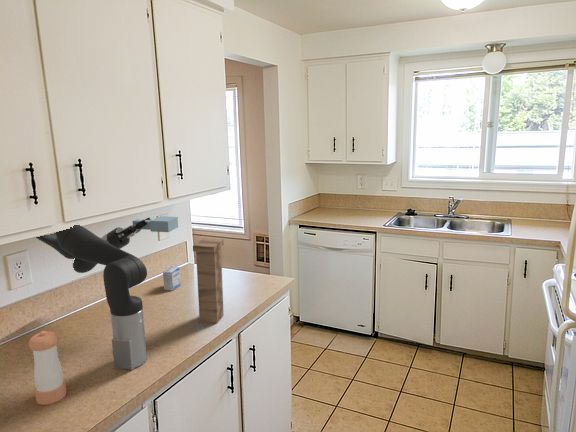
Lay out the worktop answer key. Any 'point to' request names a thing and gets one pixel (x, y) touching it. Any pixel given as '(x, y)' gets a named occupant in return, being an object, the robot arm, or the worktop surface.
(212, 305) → the walnut stand
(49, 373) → the salt shaker
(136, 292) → the worktop surface
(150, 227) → the blue-grey stepped block
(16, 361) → the worktop surface
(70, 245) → the robot arm
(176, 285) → the medicine box
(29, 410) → the worktop surface
